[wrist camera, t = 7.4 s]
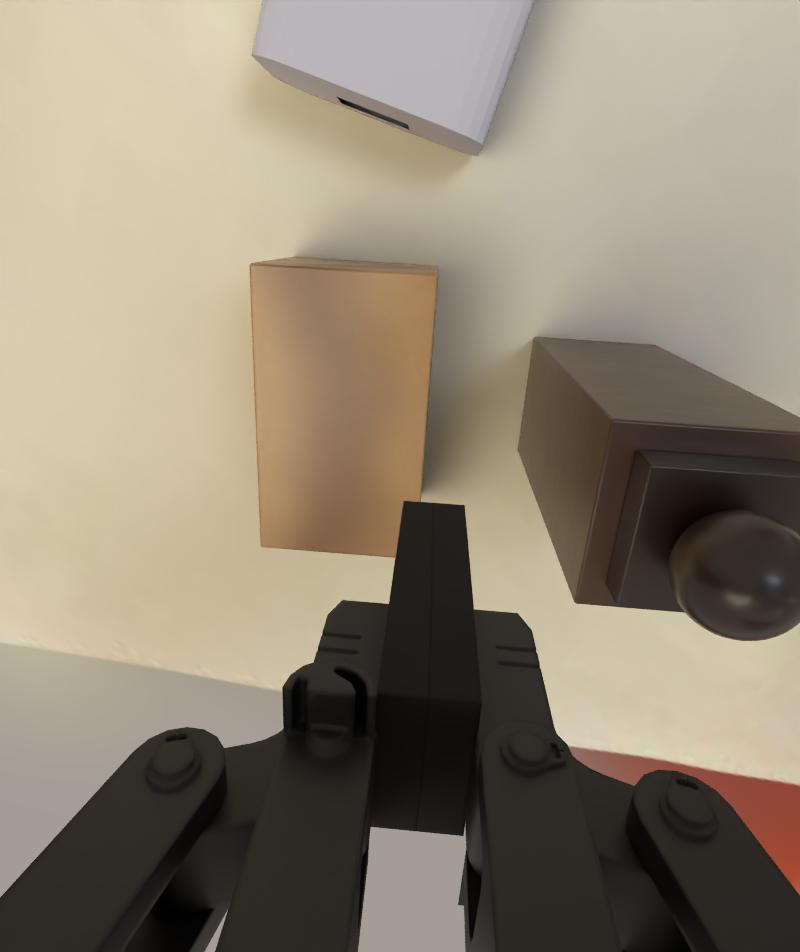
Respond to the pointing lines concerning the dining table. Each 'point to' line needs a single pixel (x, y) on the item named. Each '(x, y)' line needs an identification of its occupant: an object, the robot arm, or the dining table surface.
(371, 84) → the charger
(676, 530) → the pepper mill
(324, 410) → the wooden block
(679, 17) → the dining table surface
